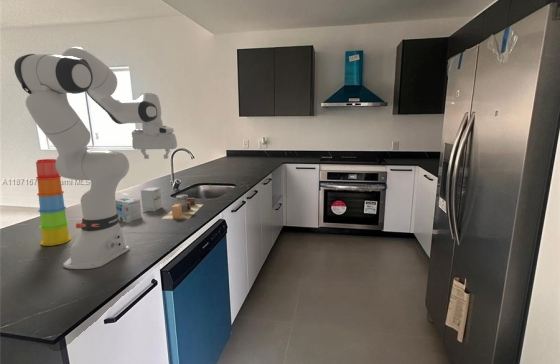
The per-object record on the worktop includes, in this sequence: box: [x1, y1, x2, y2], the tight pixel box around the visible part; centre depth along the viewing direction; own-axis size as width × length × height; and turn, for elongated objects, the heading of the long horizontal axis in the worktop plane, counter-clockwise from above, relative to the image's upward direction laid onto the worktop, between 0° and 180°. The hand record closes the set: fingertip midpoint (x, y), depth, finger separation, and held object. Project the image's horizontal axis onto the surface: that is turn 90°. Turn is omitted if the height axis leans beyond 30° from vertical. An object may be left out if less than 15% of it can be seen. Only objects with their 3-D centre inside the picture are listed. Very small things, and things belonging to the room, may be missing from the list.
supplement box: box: [140, 187, 163, 214], centre depth 165 cm, size 7×7×13 cm
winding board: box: [161, 194, 205, 220], centre depth 161 cm, size 26×14×10 cm, turn 178°
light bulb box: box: [115, 196, 143, 224], centre depth 151 cm, size 11×7×11 cm, turn 62°
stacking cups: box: [35, 158, 72, 247], centre depth 122 cm, size 10×10×35 cm
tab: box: [171, 203, 182, 218], centre depth 152 cm, size 5×3×6 cm, turn 178°
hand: (156, 158), depth 144 cm, fingers open, 8 cm apart
